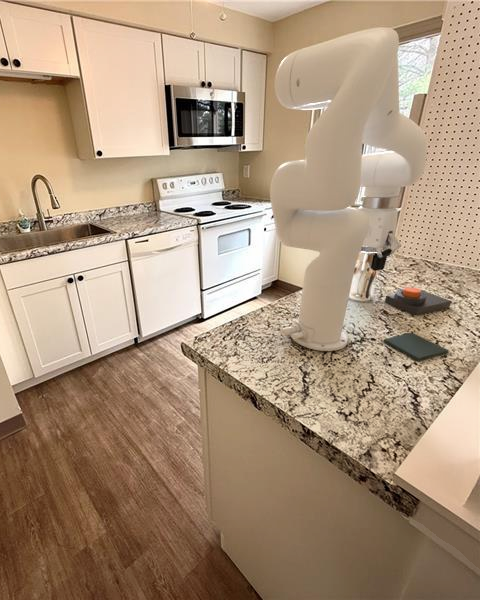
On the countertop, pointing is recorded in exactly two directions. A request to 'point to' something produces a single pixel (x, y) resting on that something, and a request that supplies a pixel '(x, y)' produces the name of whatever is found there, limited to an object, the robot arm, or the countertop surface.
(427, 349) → the mat
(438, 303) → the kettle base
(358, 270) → the beer glass
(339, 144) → the robot arm
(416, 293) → the switch
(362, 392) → the countertop surface
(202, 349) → the countertop surface
